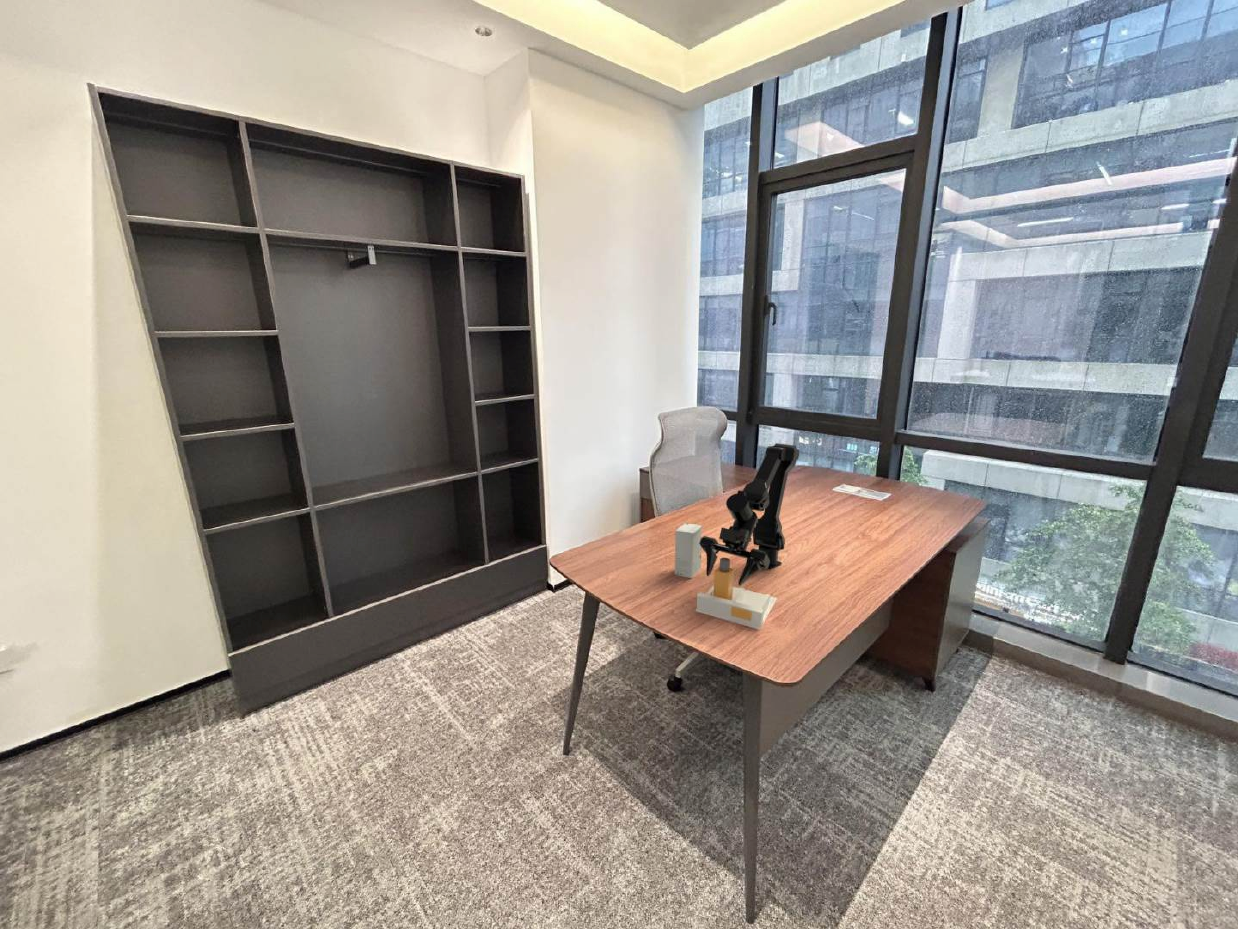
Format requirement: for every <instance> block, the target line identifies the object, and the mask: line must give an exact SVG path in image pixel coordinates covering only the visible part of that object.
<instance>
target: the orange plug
mask: <svg viewBox="0 0 1238 929" xmlns="http://www.w3.org/2000/svg"><path fill="white" fill-rule="evenodd" d="M734 576H735V568H732V567H731V559H730V558H727V557H721V558H719V566H718V567H717V568H716V569H715V570H714V576H713V577H714V578H713V585H714V594H713V596H716V597H720V598H723V599H727V600H732V597H733V587H734V580H735V579H734V578H735V577H734Z"/></svg>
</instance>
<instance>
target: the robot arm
mask: <svg viewBox="0 0 1238 929" xmlns="http://www.w3.org/2000/svg"><path fill="white" fill-rule="evenodd" d="M764 453H765V455H764V458H763V459H762V462H761V464H760V466H759V468H758V470H757V472H756V474H755V476H754V479H752V481H750V482H748V483H747V484H745V486H744V488H743V489H742V490H740V489H738V490H737V493H734V494H732V495H730V496H729V497H728V498H727V499H726V502H725V504H726V505H725V506H726V508H727V510H728V512H729V514H730V515H731V517H732V519H733V520H734V521H733V523H732V525H730V526H729V527H728V528H726V527H721V529H720V534H719V538H718V540H721V542H722V544H721V543H719V542H718V540H717V539H716V538H714V537H710V536H707V535H704V536H701V540H700V542H699V544H700V546H701V550H703V551H704V552H705V555H706V572H705V574H706V577H709V576H710V575H711V573H712V571H713V569H714V566H715V564H716V562H717V560H718V556H717V554H719V552H722V553H724V554H728V555H732V556H736V557H740V558H743V559H746V562H745V566H744V568H743V571H742V572H741V575H740V577H739V580H738V586H739V587H741V586H742V585H744V583H745V582H747V580H748V579H749V578H750V577H751V576H753V575H754V574H755V573H757V572H758V571H763V569H766V570H767V569H768V570H771V569H773V568H775V567H778V566H780V565H779V564H781V565H782V561H780V560H778V558H779V552H780V551H782V550H785V545H786V538H785V536H784V534H783V532H782V531H783V525H782V523H781V520H780V514H781V509H782V504H783V501H784V500H783V498H784V494H785V490H786V485H787V481H788V476H789V473H790V472H791V471H792V470H793V469H794V468H795V467H796V464H797V461H798V460H799V457H800V449H798V447H797V446H796V445H793V444H786V443H779V442H777V443H776V442H775V444H774V445H768V447H766V449H765V452H764ZM755 511H757V512H763V514H762V515H761V517H758V515H757V513H756V512H755ZM751 542H753V545H754V546H758V549H757V548H752V549H750V551H747V549H748V546H749V543H751Z"/></svg>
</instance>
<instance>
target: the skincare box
mask: <svg viewBox="0 0 1238 929" xmlns="http://www.w3.org/2000/svg"><path fill="white" fill-rule="evenodd" d="M702 528H703V526H702V525H699V524H692V523H686V522H685V523H684V524H683V525H680V526H679V527H678V529H676V530H675V533H674V537H675V538H674V575H675V576H680V577H683V578H684V577H685V578H689V579H693V577H694V576H695V575H696V574H697V572H699V571H700V570H701V569H702V547H701V546H700V544H699V542H700V540H701V538H702V534H703V533H702V531H703V529H702Z"/></svg>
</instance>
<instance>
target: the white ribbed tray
mask: <svg viewBox="0 0 1238 929" xmlns="http://www.w3.org/2000/svg"><path fill="white" fill-rule="evenodd" d="M713 594H714V584H713V585H712V586H711V588H710V589H709V590H708V591H707V592H706V593H703V592H699V593H698V594H697V595H696V609H695V612H696V613H701V614H705V615H708V616H712V617H714V618H719V619H721V620H725V621H728V622H732V623H735V624H739V625H742V626H746V627H750V628H752V629H757V630H761V628H762V626H763V624H764V623H765V621H766V619H767V617H768V616H769V615H770V614H769V613H770V612H771V610H772V608H773V607H774V605H775V603H776V601H777V600H778V597H775V596H772V595H771V594H767V593H766V594H764V593H760V592H755V591H752V590H748V589H745V587H736V586H733V597H732V600H727V599H723V598H720V597H716V596H713Z"/></svg>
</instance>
